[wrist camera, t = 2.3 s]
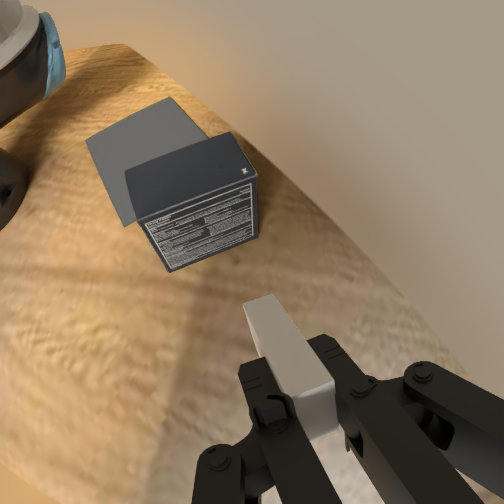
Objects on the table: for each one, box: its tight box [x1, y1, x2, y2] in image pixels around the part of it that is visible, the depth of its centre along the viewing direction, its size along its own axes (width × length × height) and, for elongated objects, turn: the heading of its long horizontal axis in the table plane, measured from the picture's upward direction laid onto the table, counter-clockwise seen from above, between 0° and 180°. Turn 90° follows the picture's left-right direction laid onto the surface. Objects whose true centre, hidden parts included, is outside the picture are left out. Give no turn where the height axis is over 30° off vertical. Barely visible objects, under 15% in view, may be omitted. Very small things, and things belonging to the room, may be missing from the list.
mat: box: [85, 97, 208, 227], centre depth 40 cm, size 19×15×1 cm
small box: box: [124, 132, 259, 273], centre depth 30 cm, size 11×6×10 cm, turn 114°
